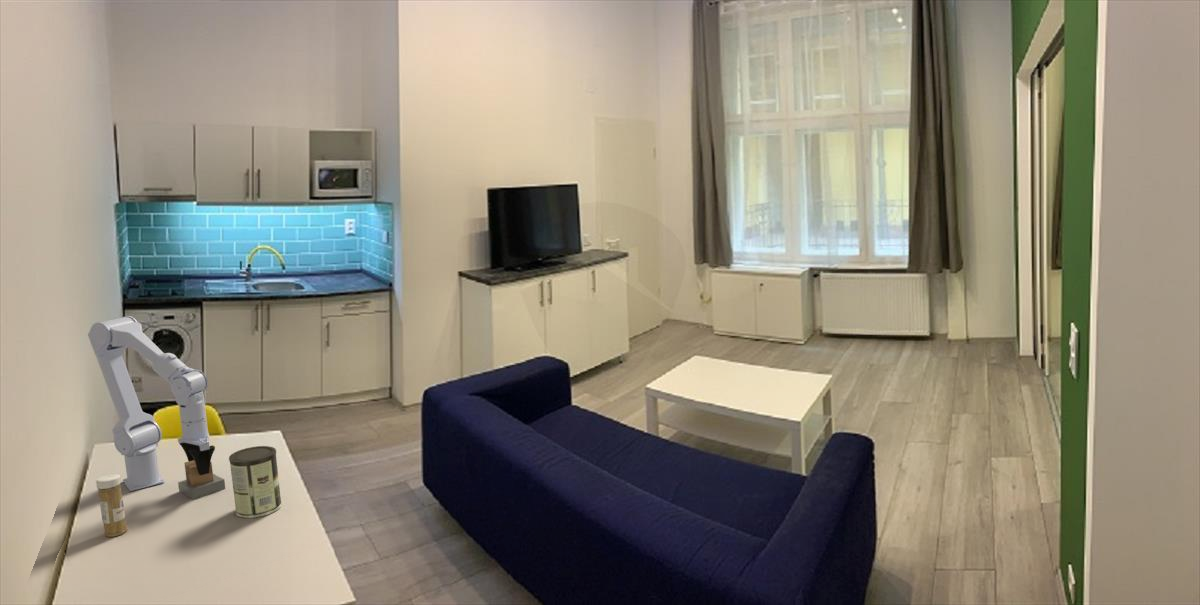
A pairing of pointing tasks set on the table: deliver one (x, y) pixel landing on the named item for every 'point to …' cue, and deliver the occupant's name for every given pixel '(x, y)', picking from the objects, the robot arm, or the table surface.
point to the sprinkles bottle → (111, 505)
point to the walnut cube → (197, 474)
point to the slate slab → (201, 488)
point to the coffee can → (255, 481)
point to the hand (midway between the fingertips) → (199, 470)
